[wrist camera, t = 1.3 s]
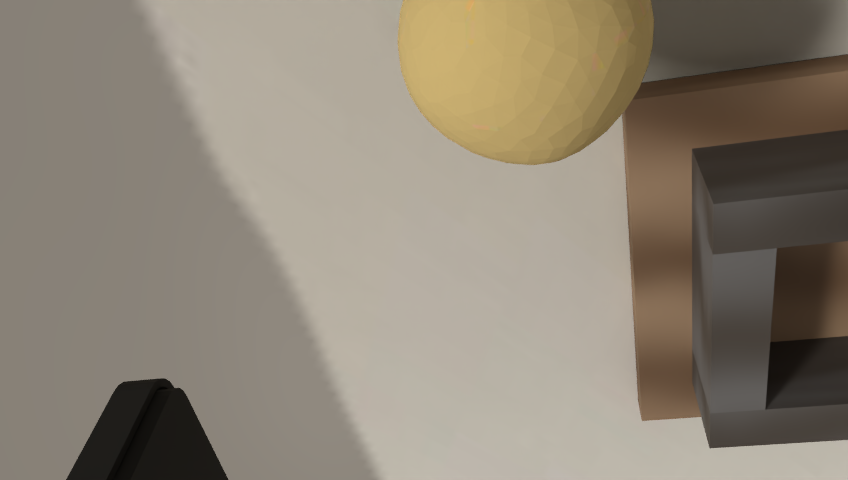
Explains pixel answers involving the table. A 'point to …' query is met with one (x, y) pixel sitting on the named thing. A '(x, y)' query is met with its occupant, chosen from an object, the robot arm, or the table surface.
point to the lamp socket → (742, 250)
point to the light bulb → (524, 71)
